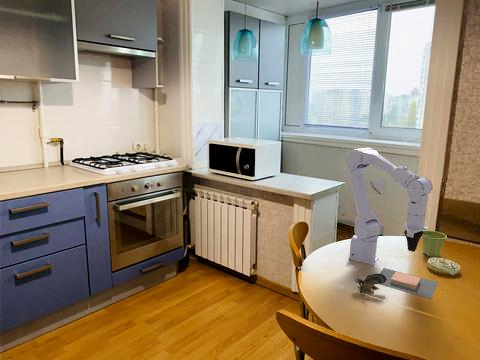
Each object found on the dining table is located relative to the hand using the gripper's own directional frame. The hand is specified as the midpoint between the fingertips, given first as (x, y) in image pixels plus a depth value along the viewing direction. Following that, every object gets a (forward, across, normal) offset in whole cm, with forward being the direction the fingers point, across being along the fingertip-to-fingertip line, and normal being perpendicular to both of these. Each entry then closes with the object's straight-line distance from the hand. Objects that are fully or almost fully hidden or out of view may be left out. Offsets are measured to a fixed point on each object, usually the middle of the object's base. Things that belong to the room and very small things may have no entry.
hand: (411, 250), depth 126 cm
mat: (+10, -5, 0) cm, 11 cm away
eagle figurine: (+11, -18, +8) cm, 23 cm away
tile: (+9, -2, 0) cm, 9 cm away
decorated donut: (+11, +14, -9) cm, 20 cm away
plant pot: (+10, +28, -3) cm, 30 cm away
